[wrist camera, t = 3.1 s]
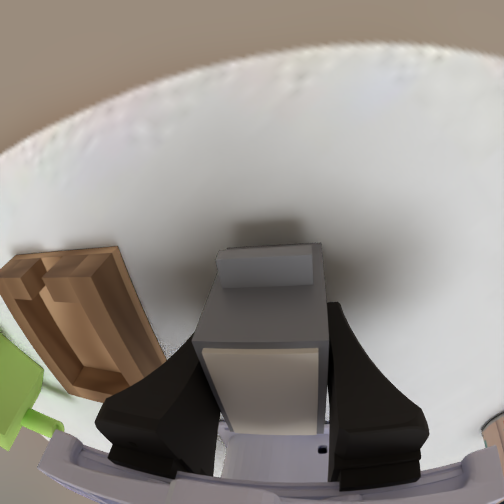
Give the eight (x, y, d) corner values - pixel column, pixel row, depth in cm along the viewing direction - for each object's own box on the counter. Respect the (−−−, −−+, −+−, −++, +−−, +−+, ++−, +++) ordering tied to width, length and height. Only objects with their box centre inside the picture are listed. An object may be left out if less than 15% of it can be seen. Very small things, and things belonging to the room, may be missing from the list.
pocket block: (117, 246, 14) (90, 276, 12) (179, 385, 20) (168, 415, 18) (15, 255, 16) (-9, 277, 14) (82, 370, 22) (69, 393, 19)
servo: (319, 215, 12) (330, 313, 8) (322, 356, 17) (322, 448, 12) (222, 222, 13) (177, 316, 8) (251, 357, 17) (234, 445, 12)
